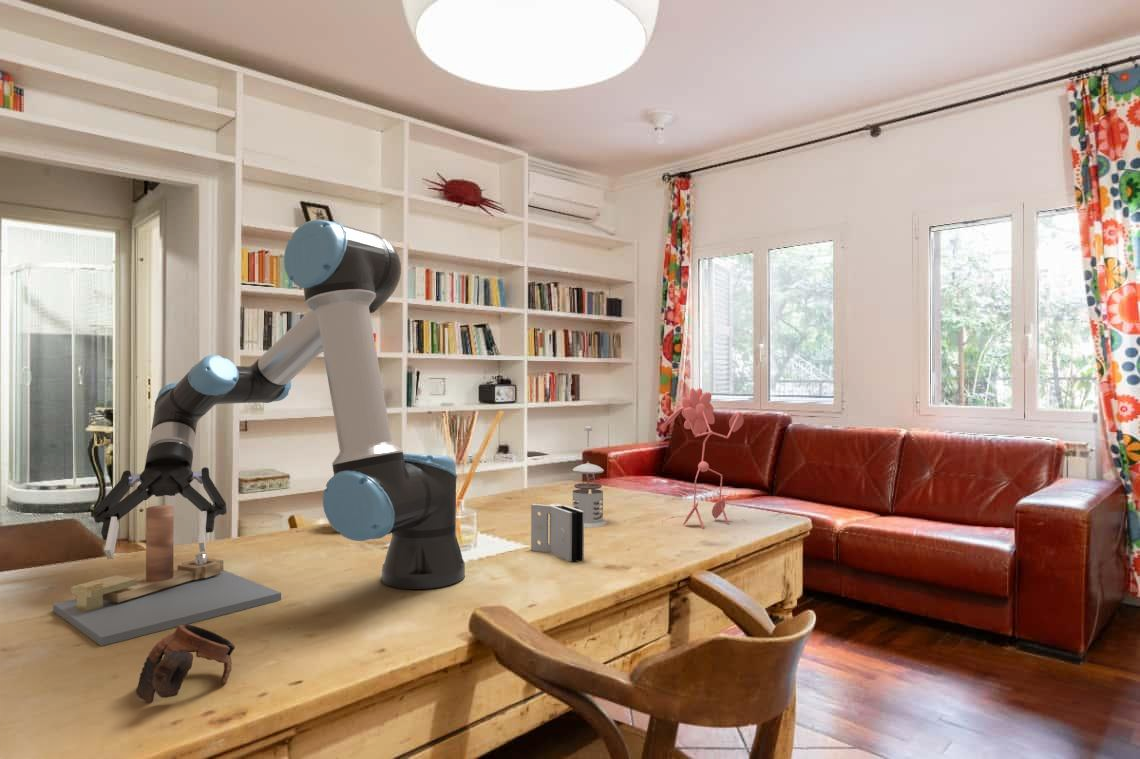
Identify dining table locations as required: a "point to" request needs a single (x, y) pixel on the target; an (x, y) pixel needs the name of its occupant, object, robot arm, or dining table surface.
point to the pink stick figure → (697, 420)
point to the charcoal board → (167, 607)
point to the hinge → (558, 531)
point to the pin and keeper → (110, 587)
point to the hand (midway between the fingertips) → (156, 551)
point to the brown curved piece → (180, 660)
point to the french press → (589, 501)
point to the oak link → (163, 559)
